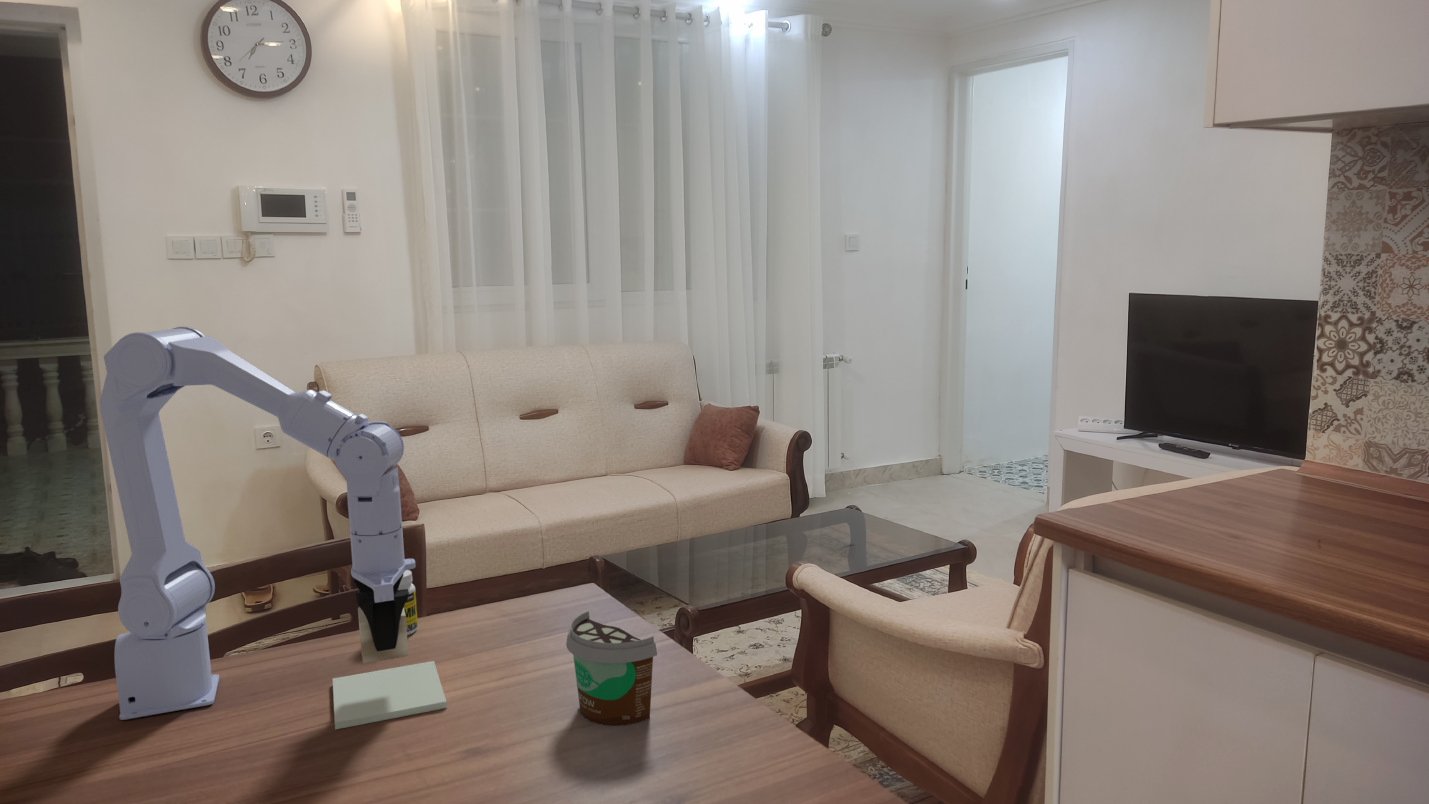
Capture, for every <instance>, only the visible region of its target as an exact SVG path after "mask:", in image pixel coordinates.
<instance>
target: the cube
mask: <svg viewBox="0 0 1429 804" xmlns="http://www.w3.org/2000/svg"><path fill="white" fill-rule="evenodd" d="M357 614H358V625H359V626H358V628H359V638H360V640H359V641H360V652H361V659H362V664H363V665H364V664H370V663H375V662H376V663H377V662H382V661H388V660H393V659H394V660H395V659H401V658H405V657H409V645H408V635H407V627H406V615H405V611H404V608H403V610H402V614H401V618H400V623H399V631H398V639H397V644H396V648H395V649H390V650H384V651H377V650H376V648H375V645H374V642H373V638H372V634H371V630H370V627H369V623H368V621H367V618H366V616H365V614H364V613H363V611H362V610H361V608H360V607H359V606H358V607H357Z"/></svg>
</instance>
